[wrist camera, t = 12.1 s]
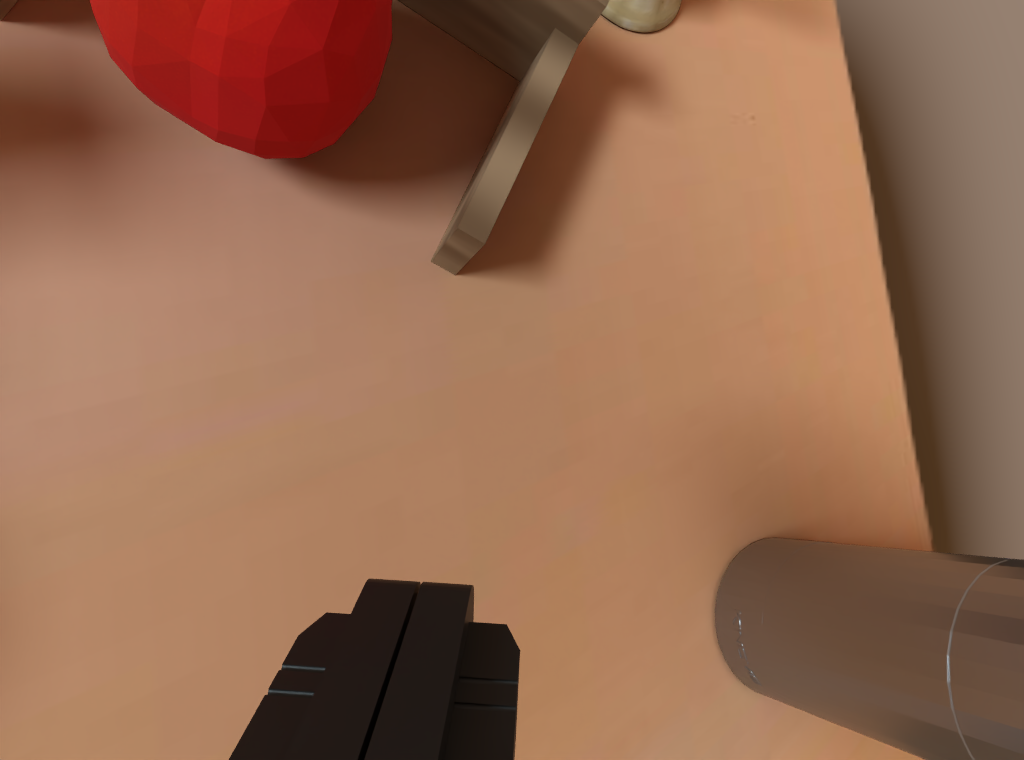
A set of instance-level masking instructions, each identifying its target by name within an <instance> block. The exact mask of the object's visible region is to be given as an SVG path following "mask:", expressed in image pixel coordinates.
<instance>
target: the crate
mask: <svg viewBox="0 0 1024 760" xmlns="http://www.w3.org/2000/svg"><path fill="white" fill-rule="evenodd" d="M17 1H18V0H0V20H2V19H3V18H4V17H5V15H6V14H7V13H8V12H9V10H10V9H11V8H12V7H13V6H14V4H15V3H16V2H17ZM399 1H400V2H402V3H403V4H405V5H406V6H408V7H409V8H411V9H412V10H414V11H415V12H417V13H418V14H420V15H421V16H423V17H424V18H426V19H427V20H429V21H430V22H432V23H433V24H435V25H436V26H438V27H439V28H441V29H442V30H444V31H445V32H447V33H448V34H450V35H451V36H453V37H454V38H456V39H457V40H459V41H460V42H462V43H463V44H465V45H466V46H468V47H469V48H471V49H472V50H474V51H475V52H477V53H478V54H480V55H481V56H483V57H484V58H486V59H487V60H489V61H490V62H492V63H493V64H495V65H496V66H498V67H499V68H501V69H502V70H504V71H505V72H507V73H508V74H510V75H511V76H513V77H514V78H516V79H517V80H519V81H520V82H519V84H518V86H517V88H516V90H515V92H514V94H513V96H512V98H511V100H510V102H509V104H508V106H507V108H506V110H505V112H504V114H503V116H502V118H501V120H500V122H499V124H498V126H497V128H496V130H495V133H494V135H493V137H492V139H491V141H490V143H489V145H488V147H487V149H486V151H485V153H484V155H483V157H482V159H481V161H480V163H479V165H478V167H477V169H476V171H475V173H474V175H473V177H472V179H471V181H470V183H469V185H468V187H467V189H466V191H465V193H464V195H463V197H462V199H461V201H460V203H459V205H458V207H457V210H456V212H455V214H454V216H453V218H452V220H451V222H450V224H449V226H448V228H447V230H446V232H445V234H444V236H443V238H442V240H441V242H440V244H439V246H438V248H437V250H436V252H435V254H434V256H433V258H432V260H431V262H433V263H435V264H436V265H438V266H440V267H442V268H443V269H445V270H447V271H449V272H451V273H452V274H454V275H456V274H457V273H458V272H459V271H460V270H461V269H462V267H463V266H464V265H465V264H466V263H467V262H468V261H469V260H470V259H471V258H472V257H473V256H474V255H475V254H476V253H477V252H478V251H479V250H480V249H481V248H482V247H483V246H484V245H485V243H486V241H487V239H488V237H489V235H490V232H491V230H492V228H493V226H494V224H495V222H496V220H497V217H498V215H499V213H500V211H501V209H502V207H503V205H504V203H505V200H506V198H507V196H508V194H509V192H510V190H511V188H512V186H513V183H514V181H515V179H516V177H517V175H518V173H519V171H520V168H521V166H522V164H523V162H524V160H525V158H526V156H527V154H528V151H529V149H530V147H531V145H532V143H533V141H534V139H535V136H536V134H537V132H538V130H539V128H540V126H541V124H542V122H543V119H544V117H545V115H546V113H547V111H548V109H549V107H550V104H551V102H552V100H553V98H554V96H555V94H556V92H557V90H558V87H559V85H560V83H561V81H562V79H563V77H564V75H565V73H566V70H567V68H568V66H569V64H570V62H571V60H572V58H573V55H574V53H575V51H576V49H577V47H578V45H579V43H580V42H581V41H582V39H583V38H584V37H585V35H586V34H587V32H588V31H589V30H590V28H591V27H592V26H593V24H594V23H595V22H596V20H597V19H598V18H599V16H600V15H601V14H602V12H603V11H604V9H605V8H606V7H607V5H608V2H609V0H399Z"/></svg>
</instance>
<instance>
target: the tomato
mask: <svg viewBox="0 0 1024 760" xmlns="http://www.w3.org/2000/svg"><path fill="white" fill-rule="evenodd" d="M90 3H91V7H92V11H93V14H94V16H95V19H96V21H97V24H98V26H99V29H100V32H101V34H102V37H103V39H104V42H105V44H106V47H107V49H108V52H109V54H110V57H111V58H112V60H113V61H114V62H115V63H116V64H117V65H118V66H119V68H120V69H121V70H122V71H123V72H124V73H125V75H126V76H127V77H128V78H129V79H130V80H131V82H132V83H133V84H134V85H135V86H136V87H137V88H138V89H139V90H140V91H141V92H142V93H143V94H144V95H146V96H147V97H148V98H149V99H150V100H151V101H153V102H154V103H155V104H156V105H158V106H159V107H161V108H163V109H164V110H166V111H167V112H169V113H171V114H172V115H174V116H175V117H177V118H179V119H180V120H182V121H183V122H185V123H187V124H188V125H190V126H191V127H193V128H195V129H196V130H198V131H199V132H201V133H203V134H204V135H206V136H207V137H209V138H211V139H212V140H214V141H215V142H218V143H221V144H224V145H227V146H230V147H232V148H235V149H238V150H241V151H244V152H247V153H250V154H253V155H256V156H259V157H262V158H264V159H272V158H303V157H306V156H308V155H310V154H313V153H315V152H317V151H319V150H322V149H324V148H326V147H328V146H330V145H332V144H334V143H335V142H336V141H337V140H338V139H339V138H340V137H341V135H342V134H343V133H344V132H345V131H346V130H347V129H348V127H349V126H350V125H351V124H352V123H353V122H354V121H355V119H356V118H357V117H358V116H359V115H360V114H361V113H362V111H363V110H364V109H365V108H366V107H367V106H368V104H369V103H370V102H371V101H372V100H373V99H374V97H375V94H376V91H377V88H378V84H379V81H380V78H381V75H382V72H383V69H384V65H385V62H386V58H387V55H388V52H389V48H390V45H391V41H392V11H391V5H392V0H90Z"/></svg>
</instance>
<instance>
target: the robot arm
mask: <svg viewBox="0 0 1024 760" xmlns="http://www.w3.org/2000/svg"><path fill="white" fill-rule="evenodd" d="M473 614H474V587H473V585H463V584H448V583H432V582H423V583H422V584H420V582H414V581H399V580H383V579H368V580H367V581H366V583H365V585H364V587H363V589H362V591H361V594H360V596H359V598H358V600H357V602H356V604H355V606H354V609H353V611H352V613H351V614H340V613H325V614H324V615H323V616H322V617H321V618H319V619H318V620H317V621H316V622H314V623H313V624H312V625H311V626H309V627H308V628H307V629H306V630H305V631H303V632H302V633H301V634H300V635H298V637H297V639H296V641H295V643H294V644H293V646H292V648H291V650H290V651H289V653H288V655H287V657H286V659H285V660H284V662H283V664H282V669H281V670H279V671H278V673H277V675H276V676H275V678H274V680H273V682H272V684H271V685H270V687H269V691H268V695H265V696H264V698H263V700H262V701H261V703H260V705H259V707H258V708H257V710H256V712H255V714H254V716H253V717H252V719H251V721H250V723H249V725H248V726H247V728H246V730H245V732H244V733H243V735H242V737H241V739H240V741H239V742H238V744H237V746H236V748H235V749H234V751H233V753H232V755H231V757H230V758H229V760H514V757H515V741H516V721H517V701H518V681H519V660H520V650H519V648H518V646H517V644H516V642H515V640H514V638H513V636H512V634H511V632H510V630H509V628H508V626H507V624H492V623H477V622H473ZM715 625H716V632H717V637H718V642H719V646H720V648H721V651H722V653H723V656H724V659H725V661H726V662H727V664H728V666H729V667H730V669H731V670H732V672H733V673H734V675H735V676H736V677H737V678H738V679H739V680H740V681H741V682H742V683H743V684H744V685H746V686H747V687H749V688H750V689H752V690H754V691H755V692H757V693H760V694H762V695H765V696H767V697H770V698H772V699H775V700H778V701H780V702H783V703H785V704H788V705H790V706H793V707H795V708H798V709H800V710H803V711H805V712H807V713H810V714H812V715H815V716H817V717H820V718H822V719H825V720H827V721H830V722H832V723H835V724H837V725H840V726H842V727H845V728H847V729H850V730H852V731H855V732H857V733H860V734H862V735H865V736H868V737H870V738H873V739H875V740H878V741H880V742H883V743H885V744H888V745H890V746H893V747H895V748H898V749H900V750H903V751H905V752H908V753H910V754H913V755H915V756H918V757H921V758H923V759H926V760H1024V560H1019V559H1007V558H997V557H985V556H973V555H962V554H951V553H940V552H929V551H918V550H906V549H895V548H884V547H872V546H861V545H850V544H839V543H830V542H819V541H808V540H796V539H785V538H767V539H762V540H759V541H757V542H754V543H752V544H750V545H749V546H747V547H746V548H744V549H743V550H742V551H740V552H739V553H738V555H737V556H736V557H735V558H734V559H733V560H732V562H731V563H730V564H729V566H728V568H727V570H726V572H725V574H724V575H723V577H722V580H721V584H720V587H719V590H718V593H717V600H716V607H715Z"/></svg>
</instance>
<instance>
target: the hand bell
mask: <svg viewBox="0 0 1024 760" xmlns="http://www.w3.org/2000/svg"><path fill="white" fill-rule="evenodd" d="M680 4H681V0H609V2H608V5H607V7H606V8H605V9H604V11H603V12H602V15H603V16H604V17H606V18H607V19H609V20H610V21H612V22H613V23H615V24H617V25H618V26H620V27H622V28H624V29H628V30H631V31H635V32H653V31H658V30H660V29H662V28H664V27H666V26H667V25H668V24H669V23H670V22H671V21H672V20H673V19H674V18H675V16H676V14H677V13H678V11H679V8H680Z"/></svg>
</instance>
